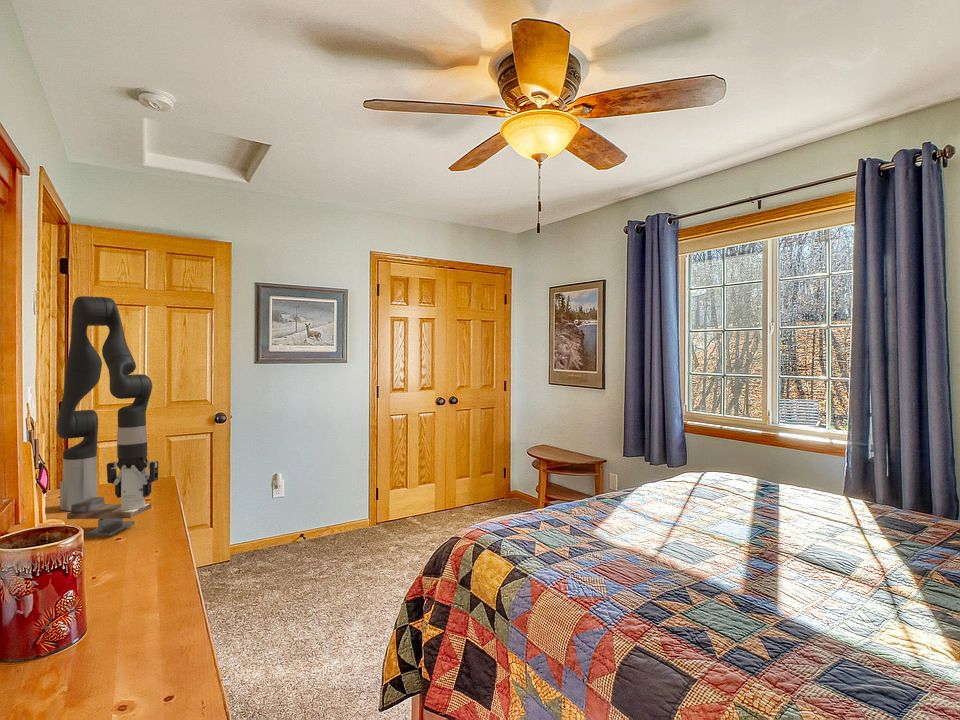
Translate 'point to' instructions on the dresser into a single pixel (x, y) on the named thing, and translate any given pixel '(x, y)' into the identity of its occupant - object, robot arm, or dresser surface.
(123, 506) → the skincare box
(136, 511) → the seesaw beam
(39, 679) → the dresser surface
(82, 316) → the robot arm
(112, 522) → the fulcrum
